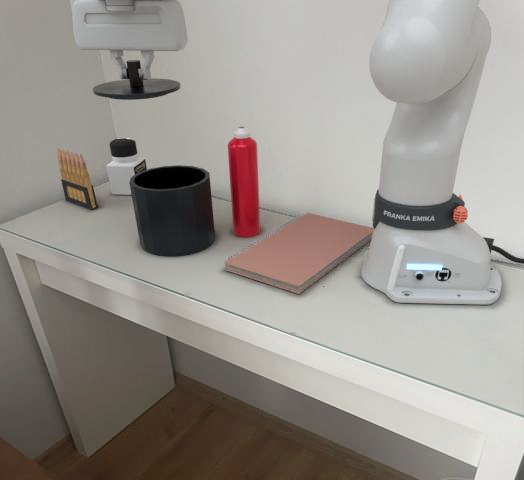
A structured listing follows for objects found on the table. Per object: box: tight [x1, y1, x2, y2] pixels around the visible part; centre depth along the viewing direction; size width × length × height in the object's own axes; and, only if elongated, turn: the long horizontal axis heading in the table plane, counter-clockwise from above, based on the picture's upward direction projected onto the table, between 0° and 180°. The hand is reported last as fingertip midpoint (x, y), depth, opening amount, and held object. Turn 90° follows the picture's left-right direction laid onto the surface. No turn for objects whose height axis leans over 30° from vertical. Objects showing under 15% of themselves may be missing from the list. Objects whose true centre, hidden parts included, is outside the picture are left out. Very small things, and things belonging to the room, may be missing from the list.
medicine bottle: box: [105, 137, 148, 196], centre depth 127 cm, size 7×7×12 cm
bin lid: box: [92, 59, 181, 101], centre depth 95 cm, size 16×16×5 cm
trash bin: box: [129, 164, 216, 257], centre depth 101 cm, size 15×15×12 cm
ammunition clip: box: [56, 147, 99, 211], centre depth 120 cm, size 11×2×12 cm, turn 49°
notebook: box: [223, 212, 374, 295], centre depth 98 cm, size 27×17×2 cm, turn 143°
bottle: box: [227, 126, 261, 238], centre depth 101 cm, size 5×5×20 cm
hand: (135, 79), depth 95 cm, fingers closed on bin lid, 2 cm apart
